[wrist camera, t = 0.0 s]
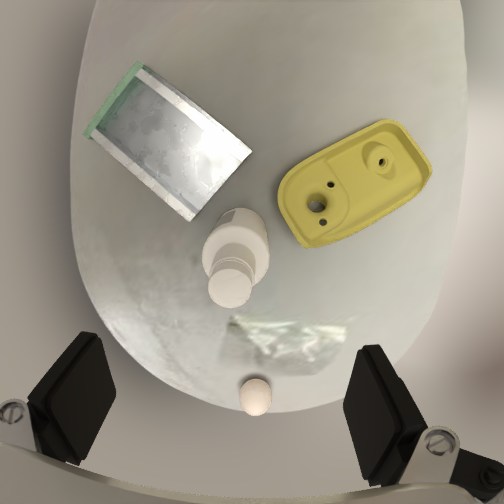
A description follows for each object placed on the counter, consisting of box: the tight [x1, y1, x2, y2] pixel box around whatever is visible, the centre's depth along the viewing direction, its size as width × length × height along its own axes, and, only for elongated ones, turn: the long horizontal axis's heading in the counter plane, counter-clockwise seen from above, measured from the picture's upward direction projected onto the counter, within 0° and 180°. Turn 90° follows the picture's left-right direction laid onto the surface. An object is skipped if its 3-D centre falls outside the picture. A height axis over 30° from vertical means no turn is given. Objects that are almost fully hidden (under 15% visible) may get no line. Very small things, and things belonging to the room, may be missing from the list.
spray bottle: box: [202, 208, 270, 308], centre depth 32 cm, size 7×7×18 cm
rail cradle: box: [83, 61, 252, 222], centre depth 35 cm, size 12×19×4 cm, turn 48°
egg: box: [239, 379, 272, 416], centre depth 45 cm, size 5×5×7 cm
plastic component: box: [278, 119, 432, 248], centre depth 37 cm, size 20×7×10 cm
